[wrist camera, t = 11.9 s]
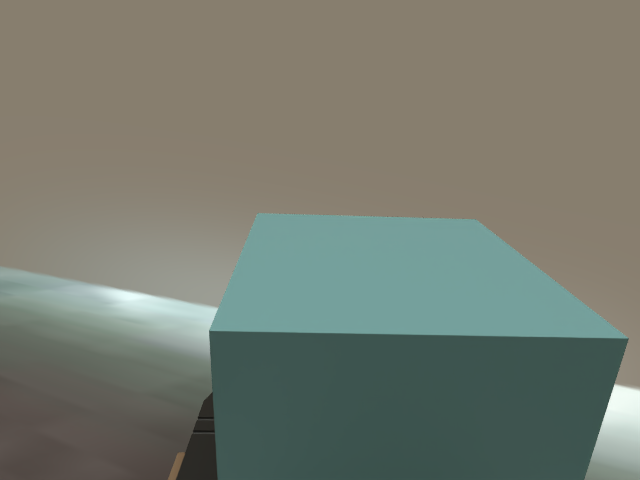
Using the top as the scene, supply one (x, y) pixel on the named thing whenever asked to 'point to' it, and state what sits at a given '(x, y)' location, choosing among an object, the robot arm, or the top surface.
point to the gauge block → (403, 356)
